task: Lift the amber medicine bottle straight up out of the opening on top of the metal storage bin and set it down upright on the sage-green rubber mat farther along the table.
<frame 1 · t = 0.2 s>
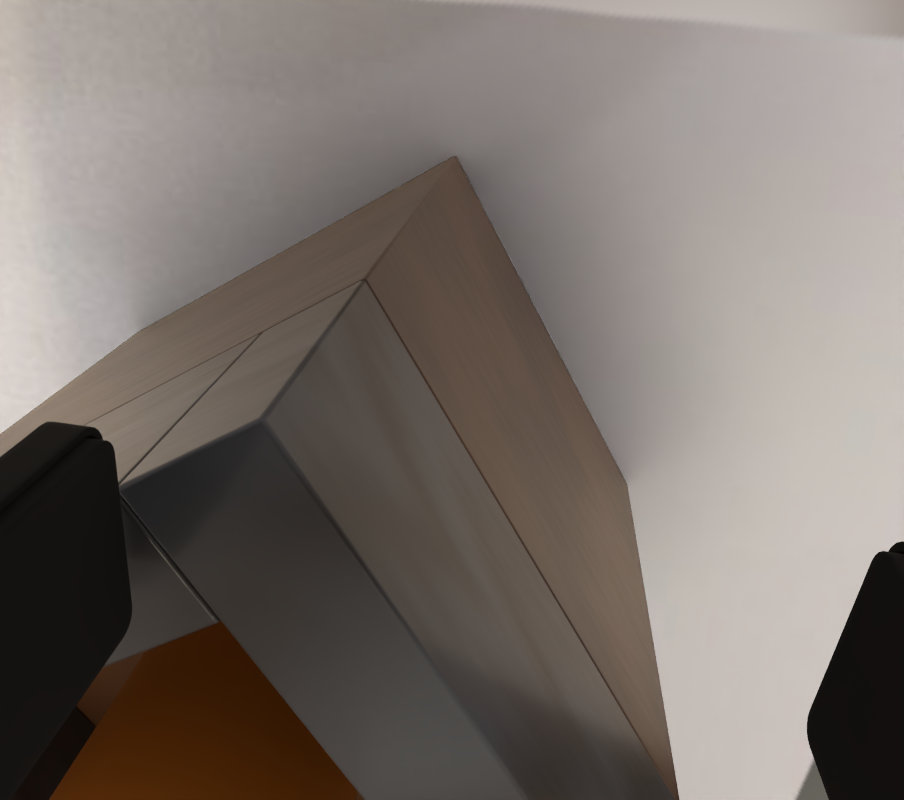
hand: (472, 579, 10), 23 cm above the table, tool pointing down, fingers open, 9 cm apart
medicine bottle: (265, 682, 20), point 16 cm above the table, touching metal storage bin
metal storage bin: (384, 409, 34), on the table
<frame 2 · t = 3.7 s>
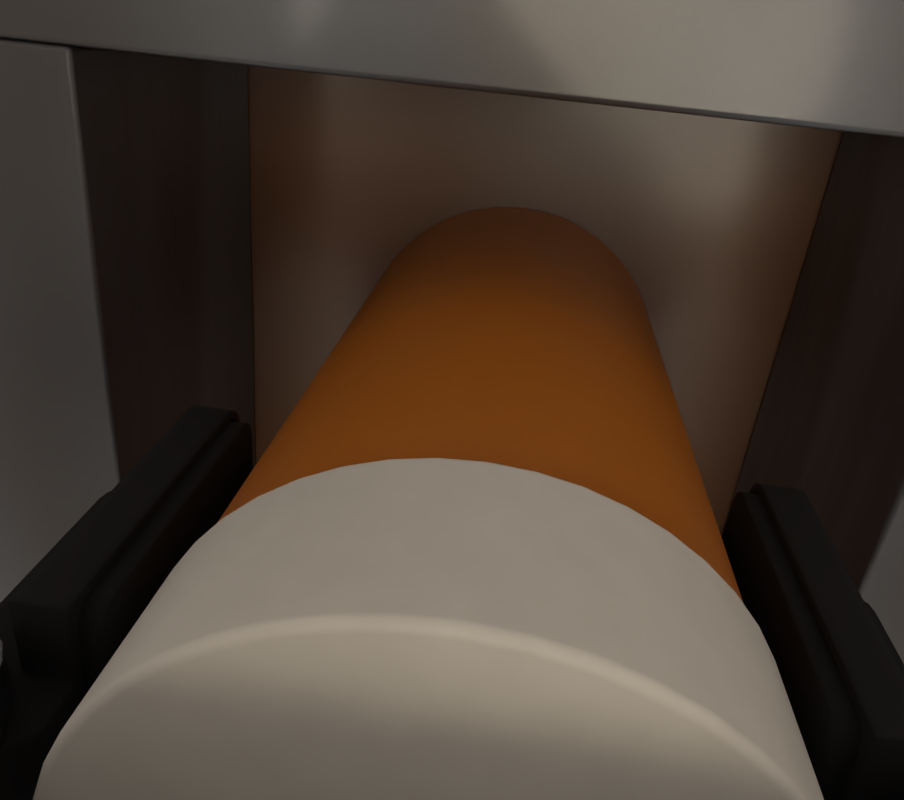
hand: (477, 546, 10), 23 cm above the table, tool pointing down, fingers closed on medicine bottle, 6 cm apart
medicine bottle: (505, 348, 17), point 16 cm above the table, touching gripper, metal storage bin
metal storage bin: (526, 197, 31), on the table
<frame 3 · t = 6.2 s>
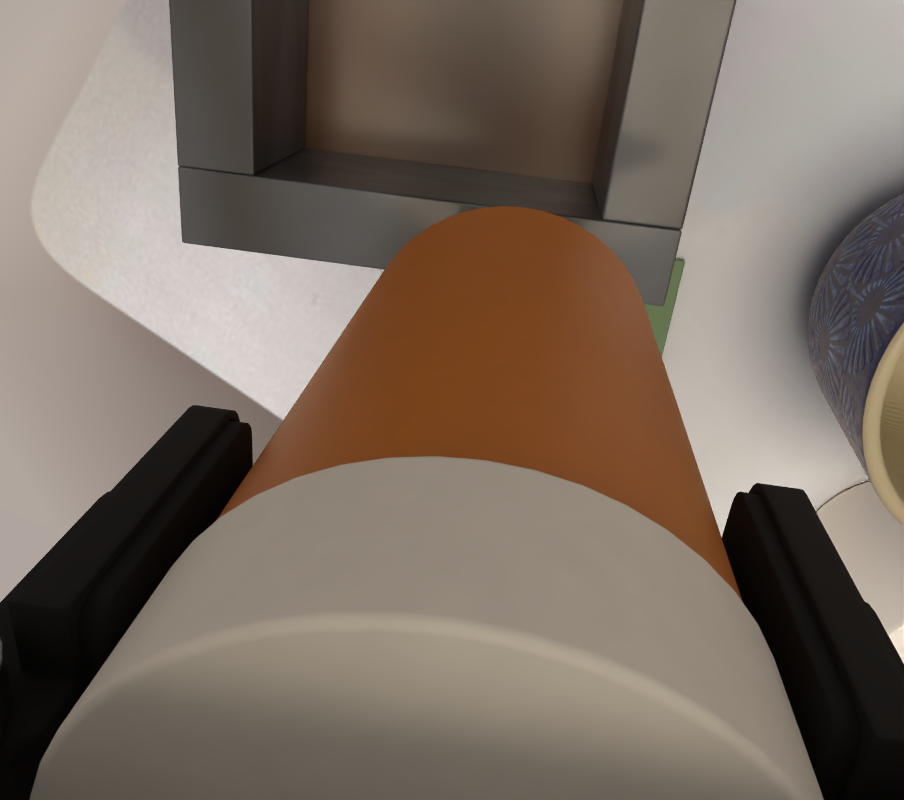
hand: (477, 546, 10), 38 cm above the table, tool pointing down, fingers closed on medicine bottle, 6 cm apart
medicine bottle: (504, 347, 17), point 31 cm above the table, touching gripper
mat: (584, 326, 49), on the table
metal storage bin: (491, 9, 42), on the table
cup: (884, 546, 54), on the table
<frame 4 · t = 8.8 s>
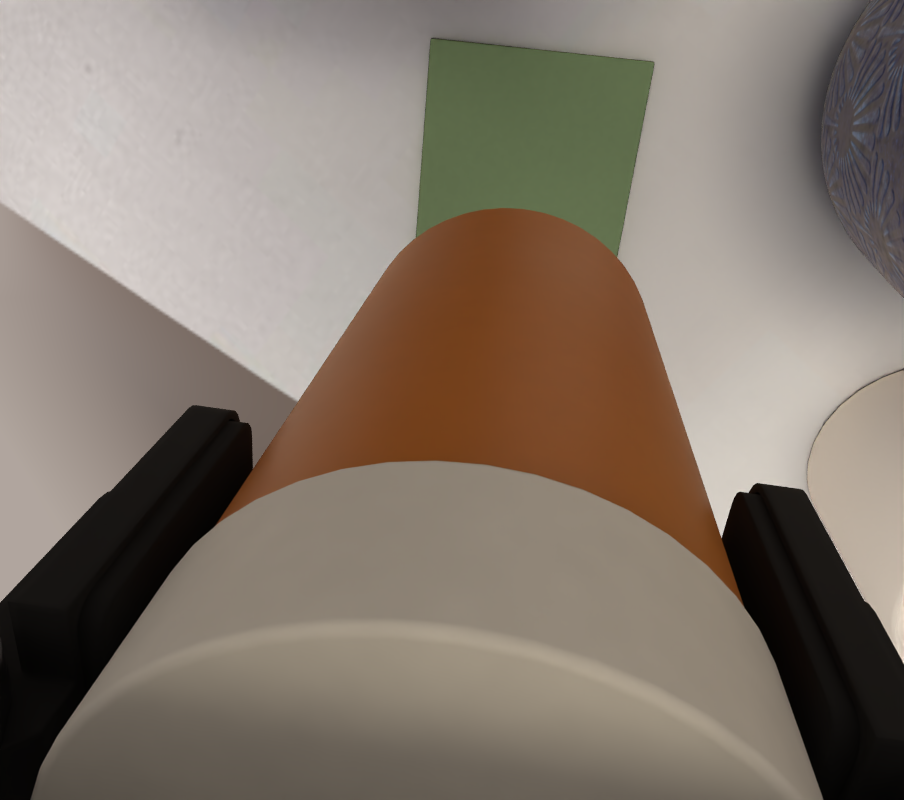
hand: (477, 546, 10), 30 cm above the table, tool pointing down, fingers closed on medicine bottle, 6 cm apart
medicine bottle: (504, 349, 17), point 23 cm above the table, touching gripper
mat: (526, 163, 37), on the table
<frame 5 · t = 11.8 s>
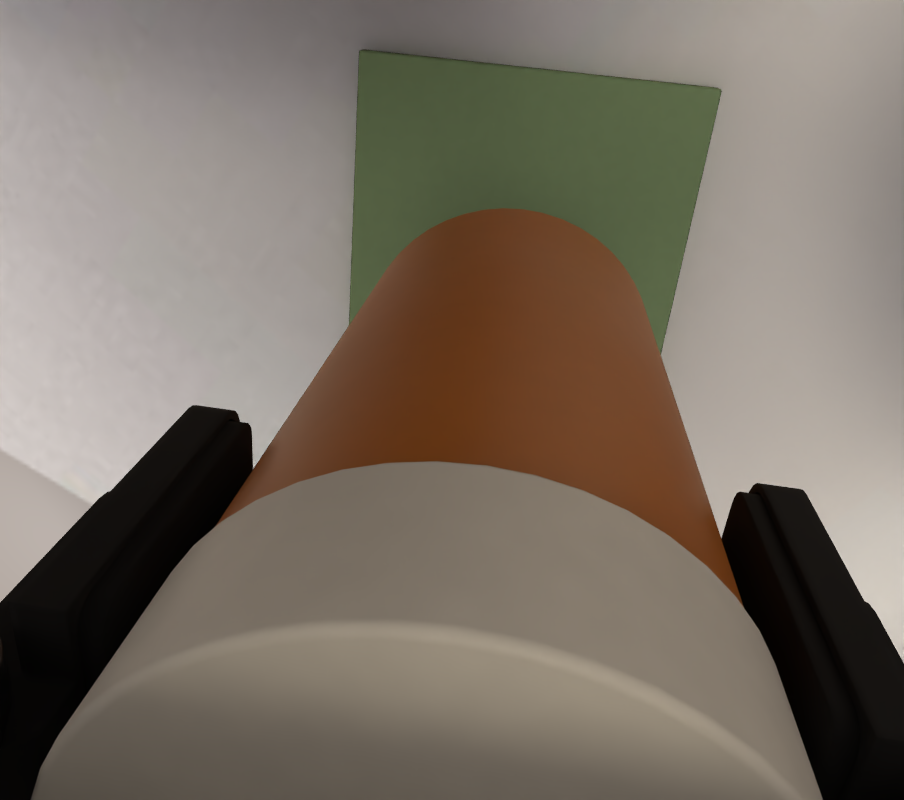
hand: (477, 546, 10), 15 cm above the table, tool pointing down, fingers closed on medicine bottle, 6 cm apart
medicine bottle: (504, 349, 17), point 8 cm above the table, touching gripper
mat: (515, 243, 24), on the table
when the fingers open (7 cm above the table, at t = 14.1 s): medicine bottle stays where it is, resting on mat.
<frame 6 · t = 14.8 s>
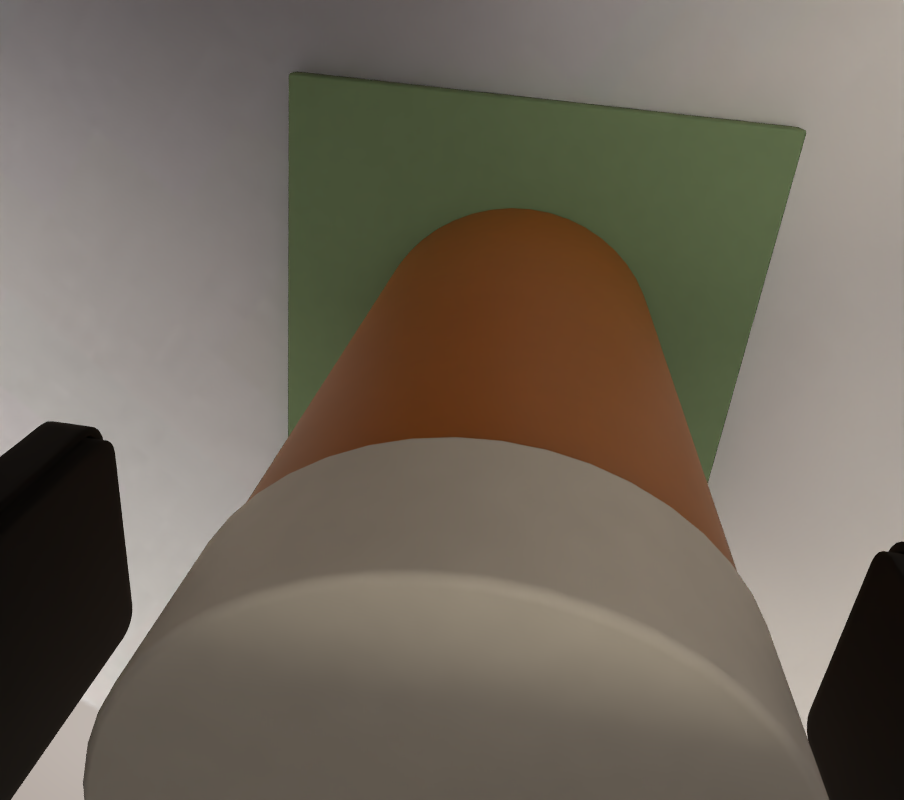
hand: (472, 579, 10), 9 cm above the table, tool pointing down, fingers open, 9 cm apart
medicine bottle: (511, 344, 17), resting on mat
mat: (510, 334, 18), on the table
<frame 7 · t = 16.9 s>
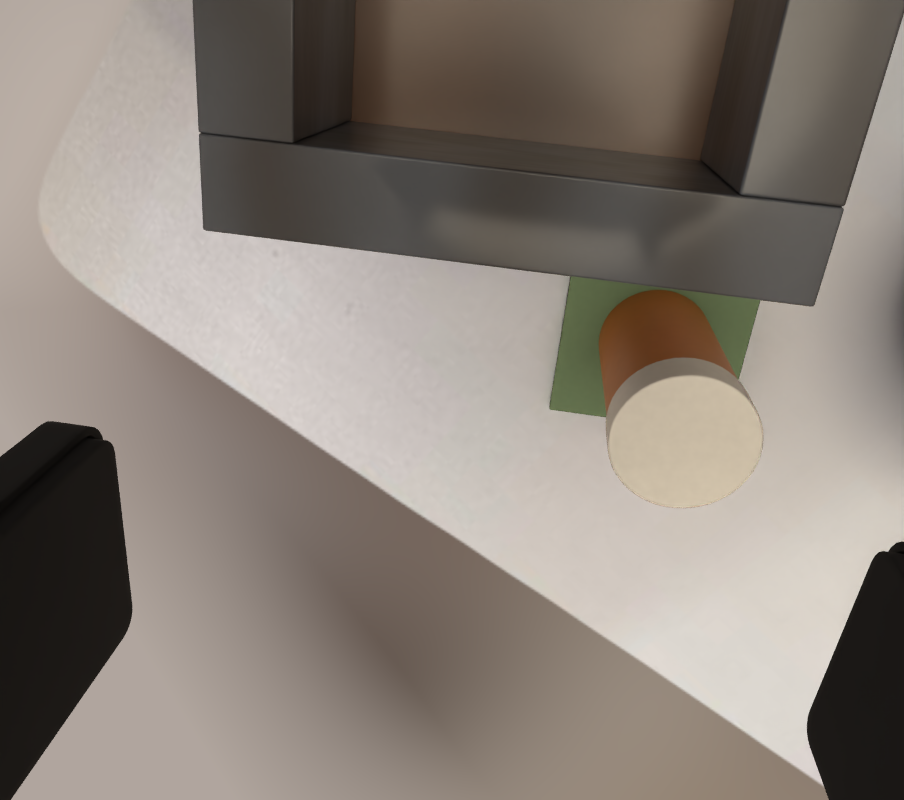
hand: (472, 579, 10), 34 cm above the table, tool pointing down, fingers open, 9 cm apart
medicine bottle: (654, 342, 43), resting on mat
mat: (652, 338, 43), on the table
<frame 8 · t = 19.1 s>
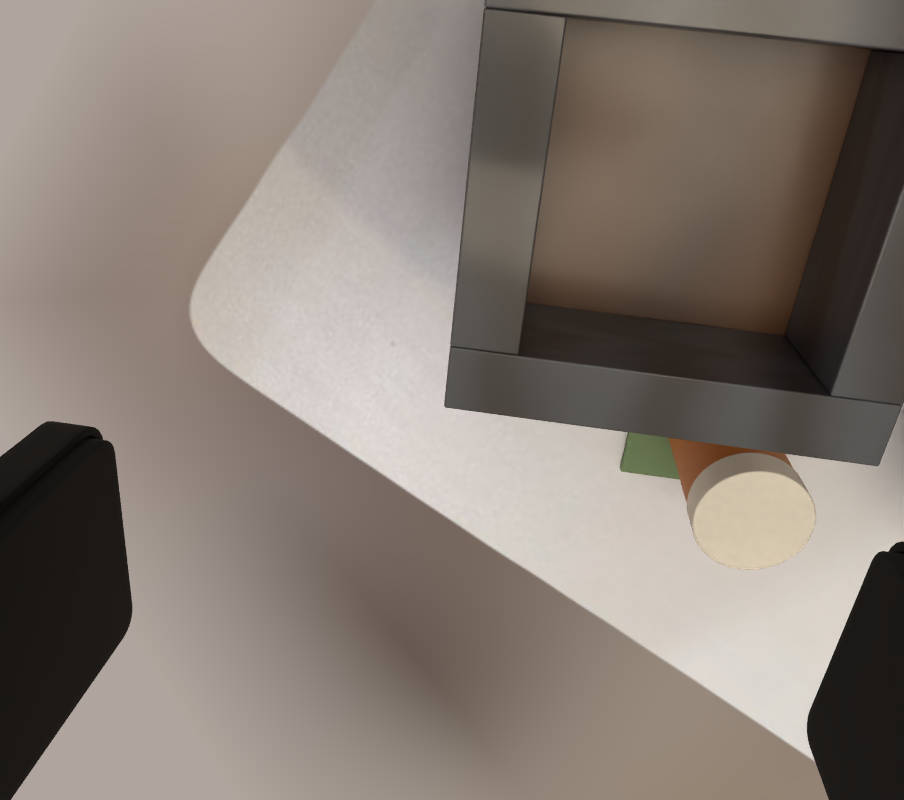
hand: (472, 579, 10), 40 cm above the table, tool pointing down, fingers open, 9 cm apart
medicine bottle: (711, 418, 52), resting on mat
mat: (709, 414, 52), on the table
metal storage bin: (640, 135, 45), on the table
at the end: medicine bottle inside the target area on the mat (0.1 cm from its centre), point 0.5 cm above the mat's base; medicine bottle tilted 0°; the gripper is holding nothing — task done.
